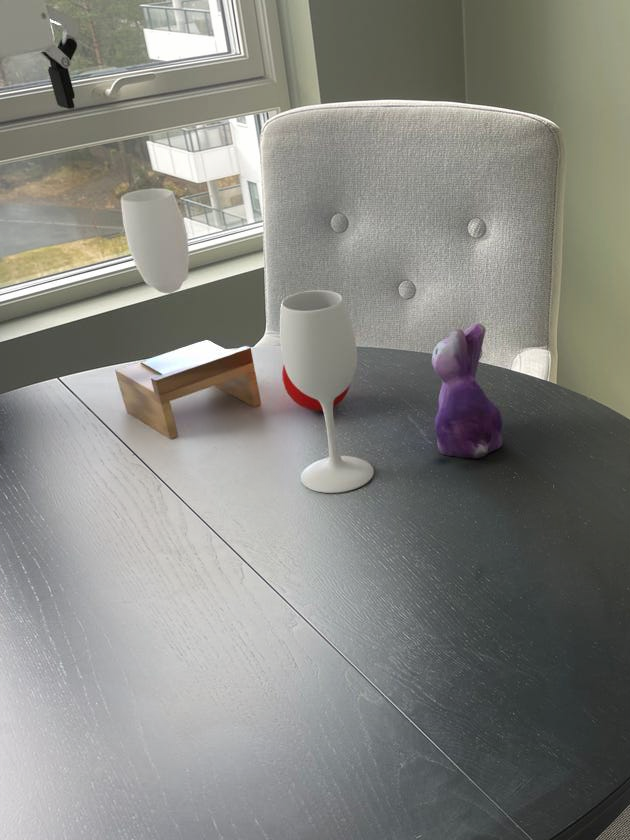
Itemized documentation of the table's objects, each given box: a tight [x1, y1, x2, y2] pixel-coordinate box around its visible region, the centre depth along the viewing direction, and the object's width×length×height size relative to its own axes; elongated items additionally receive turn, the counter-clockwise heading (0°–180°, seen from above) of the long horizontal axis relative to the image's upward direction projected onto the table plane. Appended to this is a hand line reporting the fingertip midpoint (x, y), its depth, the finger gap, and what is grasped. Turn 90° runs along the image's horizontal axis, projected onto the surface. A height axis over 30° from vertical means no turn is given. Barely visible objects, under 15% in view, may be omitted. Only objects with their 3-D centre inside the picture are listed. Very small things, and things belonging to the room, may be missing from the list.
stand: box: [114, 339, 262, 440], centre depth 130 cm, size 12×14×8 cm
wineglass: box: [279, 289, 375, 494], centre depth 109 cm, size 9×9×21 cm
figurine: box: [431, 322, 503, 459], centre depth 117 cm, size 9×10×15 cm
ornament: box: [281, 363, 351, 412], centre depth 128 cm, size 9×9×10 cm
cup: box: [120, 188, 190, 295], centre depth 123 cm, size 7×7×21 cm
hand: (26, 114), depth 110 cm, fingers open, 9 cm apart
